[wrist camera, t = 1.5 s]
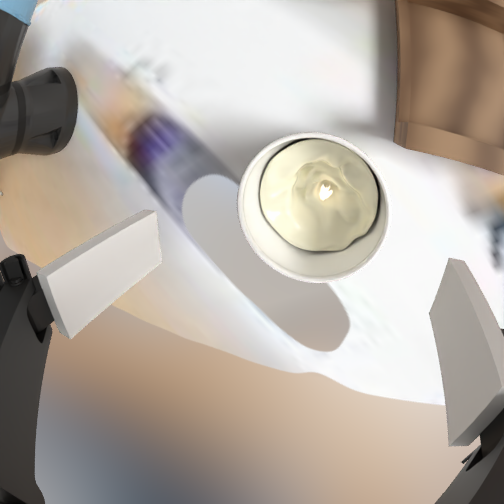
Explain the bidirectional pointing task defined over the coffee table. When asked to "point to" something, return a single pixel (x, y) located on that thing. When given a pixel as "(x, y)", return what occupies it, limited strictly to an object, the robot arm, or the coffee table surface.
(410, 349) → the coffee table surface
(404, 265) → the coffee table surface
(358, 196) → the candle holder
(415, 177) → the coffee table surface
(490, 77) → the wooden tray
